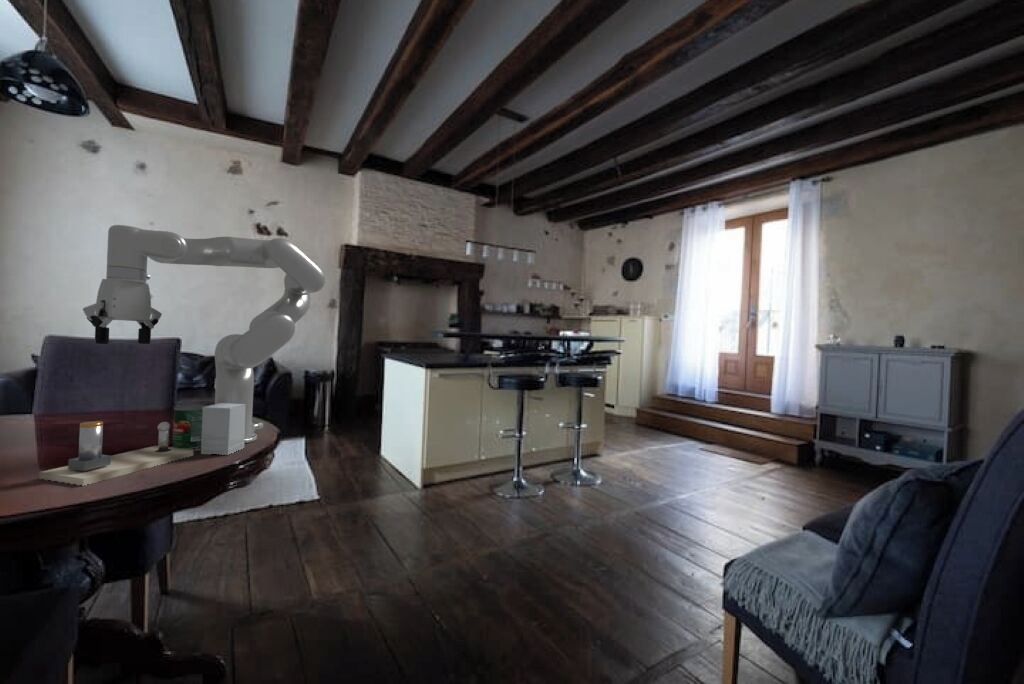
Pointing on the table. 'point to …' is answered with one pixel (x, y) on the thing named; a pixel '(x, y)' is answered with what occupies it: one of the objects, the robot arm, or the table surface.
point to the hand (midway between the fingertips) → (123, 343)
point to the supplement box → (223, 428)
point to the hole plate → (117, 465)
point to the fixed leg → (163, 436)
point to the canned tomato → (187, 426)
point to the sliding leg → (90, 448)
